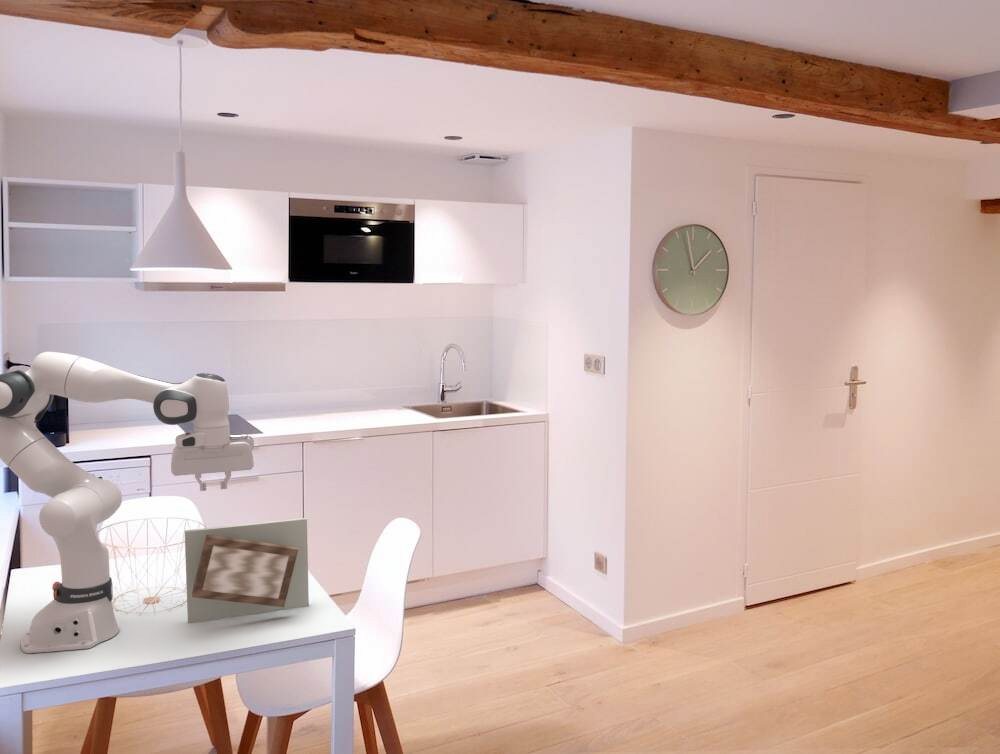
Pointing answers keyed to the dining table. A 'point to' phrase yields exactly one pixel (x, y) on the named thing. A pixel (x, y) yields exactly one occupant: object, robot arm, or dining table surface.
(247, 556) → the walnut frame
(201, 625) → the dining table surface
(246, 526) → the sage wall panel
